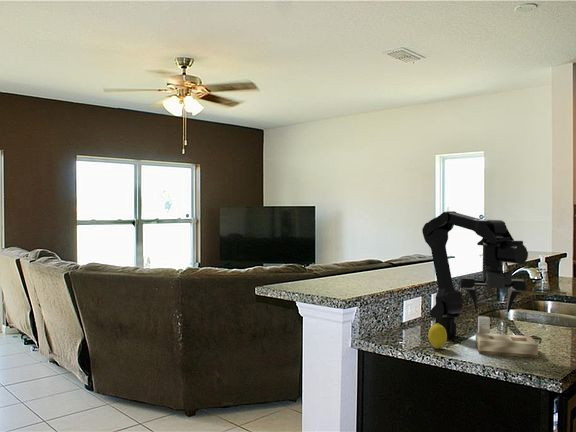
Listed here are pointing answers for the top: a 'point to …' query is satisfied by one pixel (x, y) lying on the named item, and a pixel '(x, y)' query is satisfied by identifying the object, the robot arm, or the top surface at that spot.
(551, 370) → the top surface
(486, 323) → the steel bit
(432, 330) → the lemon
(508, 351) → the socket block
